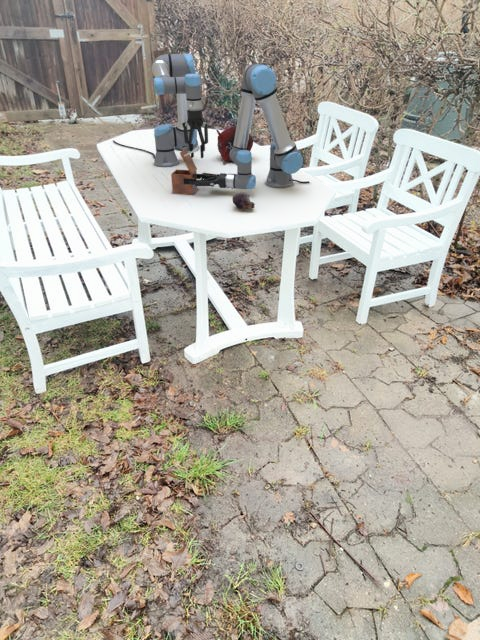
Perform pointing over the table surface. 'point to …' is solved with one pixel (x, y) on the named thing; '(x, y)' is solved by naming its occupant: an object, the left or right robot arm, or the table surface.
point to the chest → (179, 184)
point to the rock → (242, 201)
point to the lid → (189, 159)
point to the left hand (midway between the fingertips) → (197, 157)
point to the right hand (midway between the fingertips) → (186, 178)
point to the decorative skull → (229, 143)
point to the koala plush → (186, 146)
